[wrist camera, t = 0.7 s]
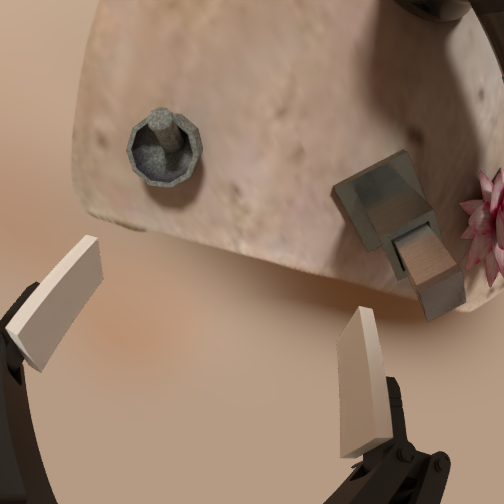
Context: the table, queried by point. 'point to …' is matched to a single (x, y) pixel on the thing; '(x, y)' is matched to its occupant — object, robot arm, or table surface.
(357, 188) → the sleeve
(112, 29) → the table surface
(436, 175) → the table surface
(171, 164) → the mortar and pestle
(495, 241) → the decorative flower
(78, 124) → the table surface
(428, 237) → the steel post
